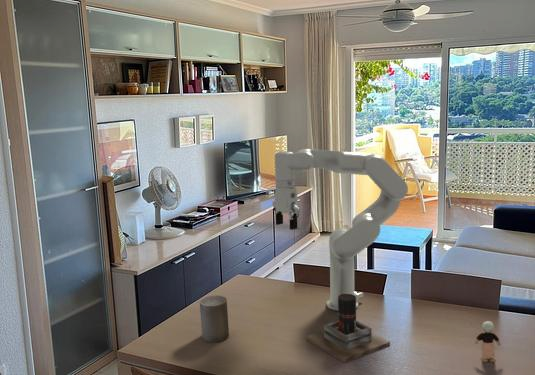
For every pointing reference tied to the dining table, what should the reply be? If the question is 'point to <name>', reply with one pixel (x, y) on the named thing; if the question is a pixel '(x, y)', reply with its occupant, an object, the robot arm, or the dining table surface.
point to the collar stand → (347, 341)
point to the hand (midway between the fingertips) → (286, 226)
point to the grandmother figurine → (488, 342)
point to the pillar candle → (214, 318)
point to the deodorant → (347, 313)
